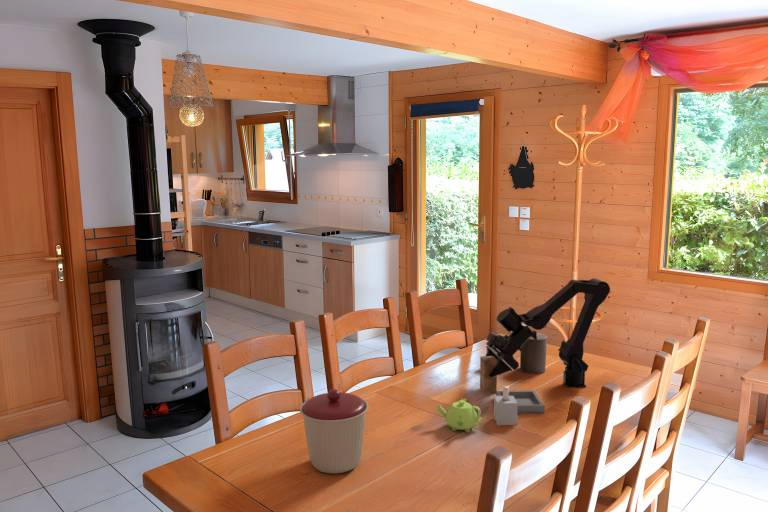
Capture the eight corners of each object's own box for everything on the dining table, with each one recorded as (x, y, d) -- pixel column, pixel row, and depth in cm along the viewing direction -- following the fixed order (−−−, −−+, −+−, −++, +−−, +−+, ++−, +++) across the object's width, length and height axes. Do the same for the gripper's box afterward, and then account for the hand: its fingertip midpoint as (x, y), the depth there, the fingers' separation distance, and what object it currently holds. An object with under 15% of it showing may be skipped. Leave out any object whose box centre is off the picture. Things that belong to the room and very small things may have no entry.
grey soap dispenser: (512, 416, 194) (513, 383, 192) (517, 424, 188) (517, 390, 187) (493, 416, 194) (494, 383, 192) (497, 425, 188) (498, 390, 187)
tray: (534, 397, 209) (534, 390, 209) (544, 413, 196) (544, 405, 196) (496, 398, 209) (496, 390, 209) (503, 414, 196) (503, 406, 196)
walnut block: (492, 388, 218) (492, 355, 217) (496, 392, 214) (497, 359, 212) (480, 389, 218) (480, 356, 216) (484, 393, 213) (484, 360, 211)
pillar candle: (518, 372, 234) (520, 334, 231) (520, 364, 243) (522, 327, 240) (545, 375, 231) (546, 337, 228) (546, 366, 240) (547, 329, 238)
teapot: (487, 429, 185) (488, 403, 184) (458, 439, 179) (458, 411, 178) (463, 416, 195) (464, 391, 193) (435, 425, 189) (435, 399, 187)
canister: (334, 442, 178) (333, 373, 175) (383, 461, 167) (382, 387, 163) (287, 467, 164) (284, 392, 161) (336, 489, 153) (334, 409, 149)
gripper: (492, 318, 222) (462, 349, 222) (510, 332, 204) (478, 366, 204) (512, 337, 224) (482, 368, 224) (532, 353, 206) (500, 387, 206)
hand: (485, 371), depth 215 cm, fingers open, 9 cm apart
